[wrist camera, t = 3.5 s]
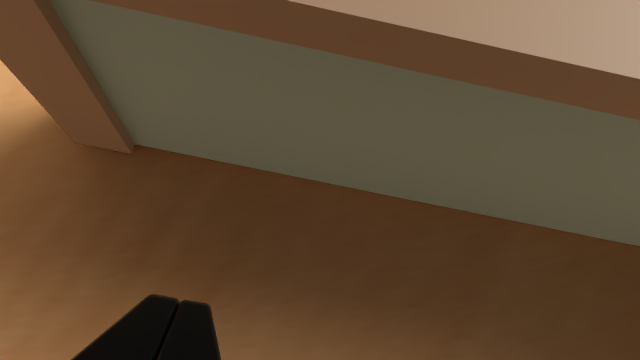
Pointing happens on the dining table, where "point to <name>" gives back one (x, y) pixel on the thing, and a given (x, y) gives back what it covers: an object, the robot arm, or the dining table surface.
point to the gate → (361, 94)
